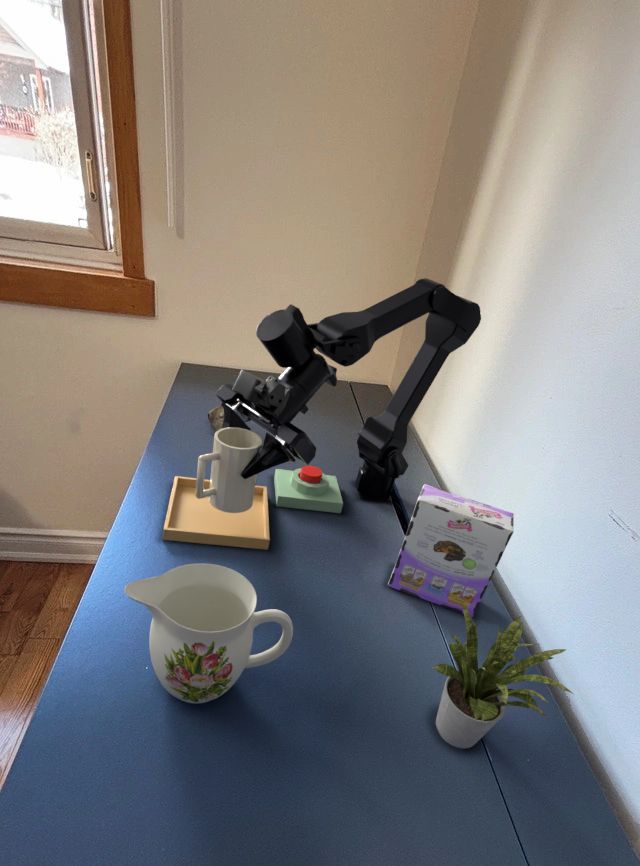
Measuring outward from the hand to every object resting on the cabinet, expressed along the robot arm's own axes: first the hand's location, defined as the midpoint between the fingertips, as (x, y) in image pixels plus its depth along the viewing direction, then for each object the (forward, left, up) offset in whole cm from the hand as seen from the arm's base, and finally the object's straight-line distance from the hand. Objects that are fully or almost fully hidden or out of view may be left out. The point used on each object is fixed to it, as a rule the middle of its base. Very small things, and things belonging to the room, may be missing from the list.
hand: (227, 465), depth 80 cm
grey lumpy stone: (0, -39, -13) cm, 41 cm away
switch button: (-16, -15, -9) cm, 23 cm away
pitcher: (0, +29, -12) cm, 32 cm away
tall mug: (0, 0, -7) cm, 7 cm away
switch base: (-16, -15, -12) cm, 25 cm away
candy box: (-34, +10, -12) cm, 37 cm away
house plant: (-30, +36, -12) cm, 49 cm away
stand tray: (0, -5, -12) cm, 13 cm away
